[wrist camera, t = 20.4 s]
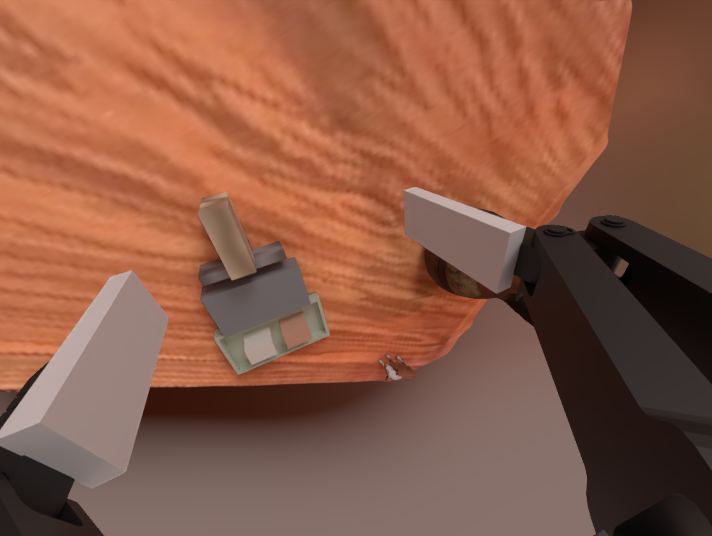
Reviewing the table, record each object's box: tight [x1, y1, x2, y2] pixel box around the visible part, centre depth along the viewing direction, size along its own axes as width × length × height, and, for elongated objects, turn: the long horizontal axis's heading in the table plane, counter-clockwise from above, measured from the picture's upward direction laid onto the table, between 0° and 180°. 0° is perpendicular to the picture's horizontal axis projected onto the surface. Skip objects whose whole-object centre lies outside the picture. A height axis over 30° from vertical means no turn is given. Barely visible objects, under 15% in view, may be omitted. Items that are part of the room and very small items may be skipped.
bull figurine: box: [378, 354, 415, 381], centre depth 72 cm, size 4×13×8 cm, turn 49°
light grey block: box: [243, 325, 278, 365], centre depth 49 cm, size 5×5×4 cm
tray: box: [214, 292, 330, 375], centre depth 52 cm, size 20×11×2 cm, turn 98°
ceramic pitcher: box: [425, 208, 534, 326], centre depth 51 cm, size 20×20×30 cm
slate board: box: [201, 258, 311, 338], centre depth 46 cm, size 16×9×4 cm, turn 98°
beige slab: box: [198, 192, 287, 286], centre depth 37 cm, size 13×12×8 cm
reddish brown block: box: [279, 312, 313, 349], centre depth 51 cm, size 5×5×4 cm
